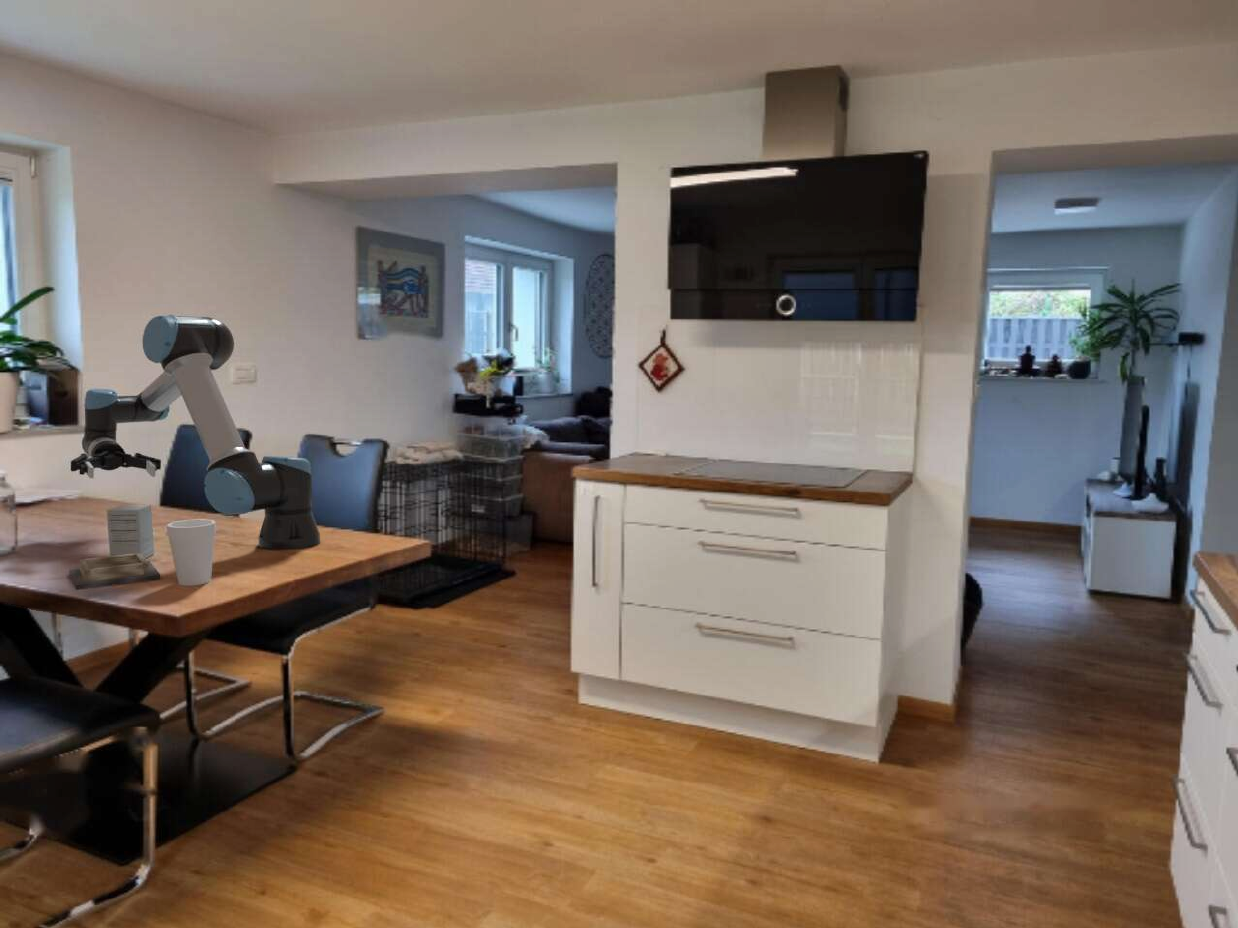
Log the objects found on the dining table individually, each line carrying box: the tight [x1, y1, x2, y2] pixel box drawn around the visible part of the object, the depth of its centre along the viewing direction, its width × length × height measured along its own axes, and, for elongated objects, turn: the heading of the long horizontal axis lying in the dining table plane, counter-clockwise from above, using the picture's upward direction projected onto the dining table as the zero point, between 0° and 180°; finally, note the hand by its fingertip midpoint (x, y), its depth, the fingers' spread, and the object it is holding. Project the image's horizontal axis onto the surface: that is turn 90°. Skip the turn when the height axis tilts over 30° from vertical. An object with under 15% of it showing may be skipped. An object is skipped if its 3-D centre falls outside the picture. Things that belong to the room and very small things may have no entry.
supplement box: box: [106, 504, 155, 560], centre depth 210 cm, size 7×7×13 cm
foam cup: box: [166, 518, 217, 587], centre depth 188 cm, size 10×9×13 cm
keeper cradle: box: [68, 553, 162, 591], centre depth 192 cm, size 16×16×4 cm
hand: (123, 472), depth 215 cm, fingers open, 13 cm apart
